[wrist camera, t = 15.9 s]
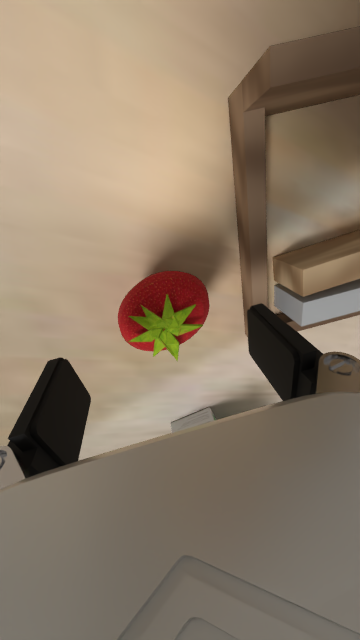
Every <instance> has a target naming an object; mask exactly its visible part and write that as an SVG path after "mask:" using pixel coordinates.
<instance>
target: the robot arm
mask: <svg viewBox="0 0 360 640" xmlns="http://www.w3.org/2000/svg"><path fill="white" fill-rule="evenodd" d="M247 323H248V344H249V353H250V355H251V357H252V358H253V360H254V361H255V362H256V364H257V365H258V367H259V368H260V369H261V371H262V372H263V374H264V375H265V376H266V378H267V379H268V381H269V382H270V383H271V385H272V386H273V388H274V389H275V390H276V392H277V393H278V395H279V396H280V397H281V399H282V400H283V401H282V402H278V403H275V404H271V405H267V406H264V407H260V408H256V409H253V410H249V411H246V412H242V413H239V414H235V415H232V416H229V417H225V418H222V419H218V420H215V421H211V422H208V423H204V424H201V425H197V426H194V427H191V428H187V429H184V430H180V431H177V432H174V433H170V434H167V435H164V436H160V437H157V438H153V439H150V440H147V441H143V442H140V443H136V444H133V445H130V446H126V447H123V448H120V449H116V450H113V451H110V452H107V453H103V454H100V455H97V456H93V457H90V458H87V459H83V460H80V461H78V458H79V453H80V449H81V444H82V439H83V435H84V430H85V425H86V421H87V416H88V411H89V407H90V402H91V398H90V395H89V393H88V391H87V390H86V388H85V387H84V385H83V383H82V382H81V380H80V379H79V377H78V375H77V374H76V372H75V371H74V369H73V367H72V366H71V364H70V363H69V361H68V360H67V359H63V358H57V359H53V360H50V361H48V362H47V364H46V366H45V368H44V370H43V372H42V374H41V376H40V378H39V380H38V381H37V383H36V385H35V387H34V389H33V391H32V393H31V395H30V397H29V399H28V401H27V403H26V405H25V406H24V408H23V410H22V412H21V414H20V416H19V418H18V420H17V422H16V424H15V426H14V428H13V430H12V431H11V433H10V435H9V437H8V439H9V440H10V442H9V444H8V446H0V640H360V360H359V359H357V358H356V357H354V356H352V355H349V354H346V353H342V352H328V353H325V354H323V353H321V352H320V351H319V350H318V349H317V348H315V347H314V346H313V345H312V344H311V343H310V342H308V341H307V340H306V339H305V338H304V337H303V336H301V335H300V334H299V333H298V332H297V331H295V330H294V329H293V328H292V327H291V326H290V325H288V324H287V323H285V322H284V321H282V320H281V319H280V318H279V317H278V316H277V315H275V314H274V313H273V312H272V311H271V310H270V309H268V308H267V307H266V306H265V305H264V304H262V303H260V304H257V305H253V306H251V307H250V309H249V310H247Z"/></svg>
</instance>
